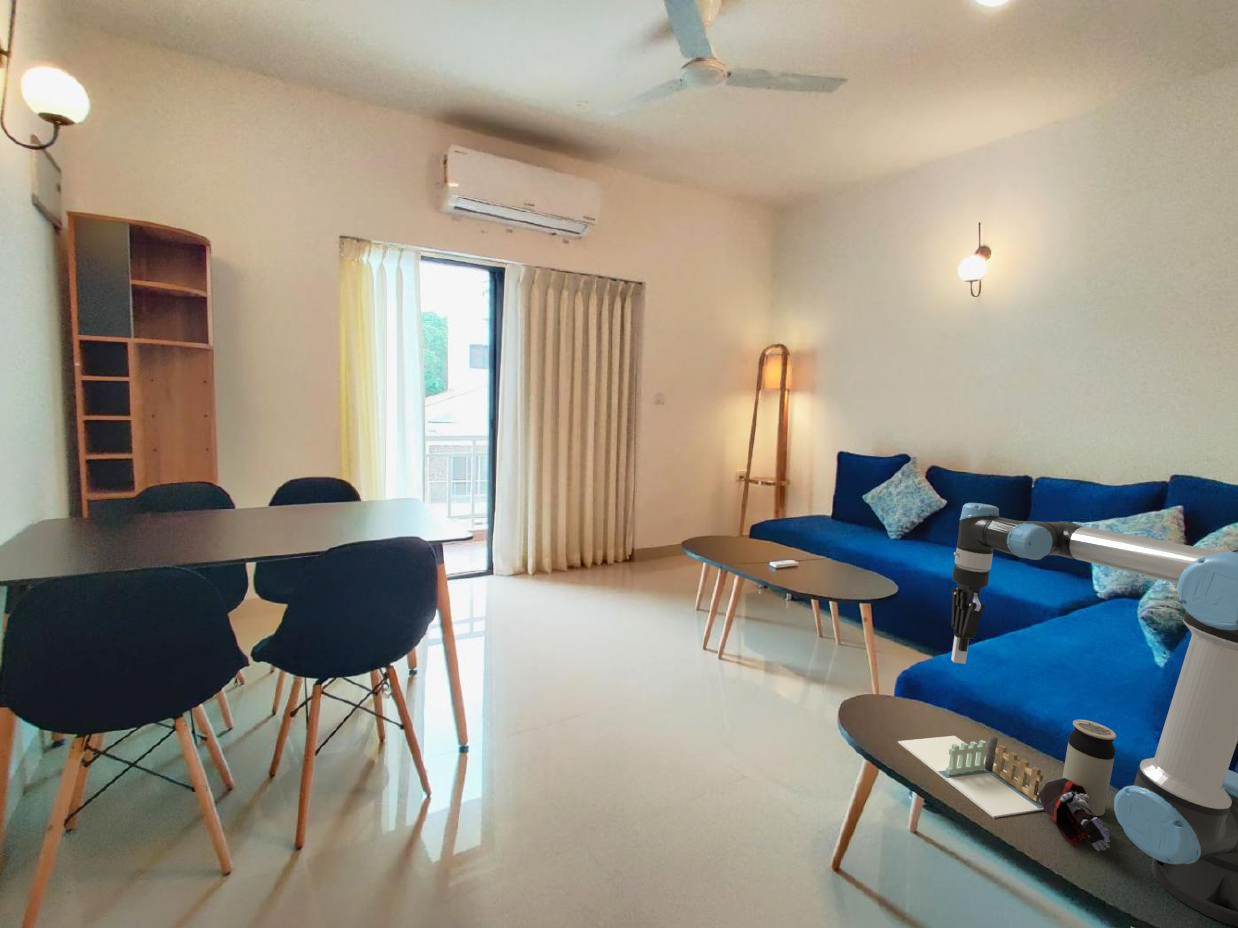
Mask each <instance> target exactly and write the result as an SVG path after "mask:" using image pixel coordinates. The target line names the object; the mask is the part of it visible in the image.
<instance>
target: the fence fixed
mask: <svg viewBox="0 0 1238 928" xmlns="http://www.w3.org/2000/svg"><path fill="white" fill-rule="evenodd" d="M998 739H999V738H997V736H995V735H991V734H990V735H988V740H987V746H988V751H985V757H986V758H985V769H986V770H988V771H993V772H995V774H996V775H998V776H999V777H1000V776H1001V777H1002V778H1003V779H1005V781H1006V782H1008V783H1009V784H1012V785H1013V786H1015V787H1016V789H1017V790H1019V791H1020V792H1023V793H1025V794H1026V795H1028V797H1029V798H1030V799H1032V800H1035V801H1039V795H1038V794H1037V793H1038V789H1039V785H1040V782H1043V778H1044V776H1043V775H1042V774H1041V772H1042V771H1041V769H1040V768H1038V767H1037V766H1032V767H1030V766H1029V765H1030V762H1029V761H1028V760H1027V759H1025V758H1023V759H1020V760H1019V759H1018V757H1019V756H1018V754H1017V753H1015V752H1014V751H1009V753H1008V752H1007V751H1008V750H1007V749H1008V748H1007V747H1006V746H1005V745H1003V744H1000V745H998ZM997 745H998V747H997ZM996 755H997V756H996ZM995 759H996V763H995ZM1005 761H1007V766H1006V767H1007V768H1006V770H1005ZM994 763H995V764H996V766H994ZM1017 768H1018V769H1019V770H1018V775H1017V779H1018V780H1016V779H1015V778H1014V777H1016V776H1015V774H1016V770H1017ZM1003 770H1005V771H1007V773H1006V772H1005V771H1003ZM1028 775H1029V776H1030V779H1029V788H1028V787H1026V786H1025V785H1027V784H1026V783H1027V779H1028V778H1027V777H1028Z"/></svg>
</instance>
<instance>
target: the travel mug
mask: <svg viewBox="0 0 1238 928" xmlns="http://www.w3.org/2000/svg"><path fill="white" fill-rule="evenodd" d="M1072 725H1073V728H1074V729H1073V731H1071V732H1070V733H1069V736H1068V741H1067V748H1066V753H1065V761H1064V767H1063V772H1062V778H1066V779H1068V780H1070V781H1072V782H1074V783H1076V784H1078V785H1080V786H1082V787H1083V788H1084V790H1085V791H1086V795H1088V796H1089V800H1088V801H1087V802H1088V806H1089V808H1090V810H1091V813H1090V812H1089V813H1088V814H1089V815H1093V816H1094V817H1099V816H1103V815H1104V814H1105V812H1106V807H1107V806H1106V805H1107V803H1108V802H1107V801H1108V796H1109V795H1108V794H1109V789H1110V783H1111V779H1112V778H1111V777H1112V772H1113V766H1114V759H1115V756H1116V748H1115V746H1114V744H1113V743H1114V740H1116V738H1117V734H1116V733H1115V732H1114V731H1113V729H1110V727H1109V728H1108V727H1107V726H1105V725H1102V724H1100V723H1097V722H1095V721H1090V720H1087V719H1075V720H1073V721H1072Z"/></svg>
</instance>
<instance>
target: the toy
mask: <svg viewBox="0 0 1238 928" xmlns="http://www.w3.org/2000/svg"><path fill="white" fill-rule="evenodd" d="M1038 793H1039V798H1040V800H1041V803H1042V805H1043V808H1044V810H1043V811H1044V812H1045V813H1046V814H1047V815H1048V816H1049V819H1050V820H1051V821H1053V822H1054V824H1055V825H1056V828H1057V829H1058V831H1059V833H1060V834H1061V836H1062V837H1063V838H1064V839H1065V840H1066V841H1067V843H1069V844H1070V846H1071V847H1072V848H1074V849H1076V847H1077V846H1078V843H1079V842H1080V841H1081V840H1083V841H1085V838H1087V837H1088V838H1089V842H1090V844H1091V846H1092V847H1093V848H1094V849H1095V850H1096V851H1097V852H1100V851H1106V850H1107V849H1109V848H1111V846H1110V844H1109V843H1110V842H1111V839H1110V837H1111V835H1110V831H1109V828H1107V827H1105V826H1103V824H1104V823H1103V820H1101V819H1100V818H1098V816H1094V815H1089V814H1088V813H1089V812H1090V813H1091V810H1090V808H1089V806H1088V802H1087V801H1088V800H1089V796H1088V795H1086V791H1085V790H1084V788H1083V787H1082V786H1080V785H1078V784H1076V783H1074V782H1072V781H1070V780H1068V779H1066V778H1063V777H1062V778H1059V779H1056V780H1051V781H1048V782H1046V783H1045V784H1044V786H1043V787H1042V789H1041V790H1040V792H1038ZM1108 842H1109V843H1108Z"/></svg>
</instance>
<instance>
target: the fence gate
mask: <svg viewBox="0 0 1238 928" xmlns="http://www.w3.org/2000/svg"><path fill="white" fill-rule="evenodd" d="M987 745H988V741H985V740H983V739H981V740H979V741H978V743H977V742H976V741H970V742H969V744H968V743H966V742H965V743H961V747H960V746H958V745H957V744H952V747H951V749H949V754H950V761H949V767H947V768H946V773H948V774H949V775H955V774H956V773H960V774H962V773H965V772H974V771H976V770H978V771H981V770H983V769H985V764H984V758H985V757H986V752H987V751H988V746H987ZM976 753H977V759H976ZM967 754H968V761H967V764H966V760H967ZM958 755H959V761H958V766H957V760H958ZM975 759H976V763H975Z"/></svg>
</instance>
